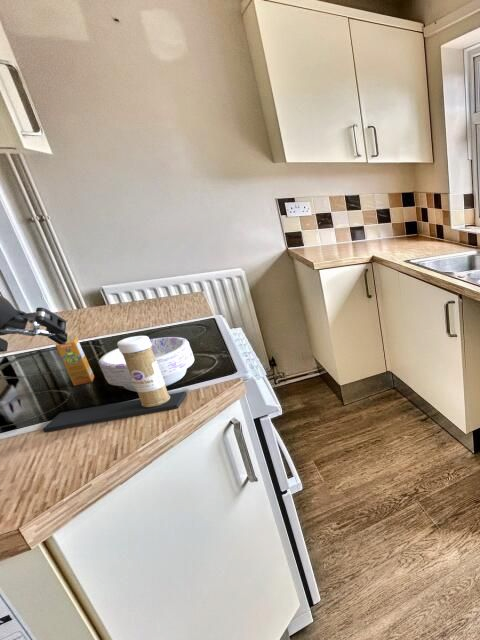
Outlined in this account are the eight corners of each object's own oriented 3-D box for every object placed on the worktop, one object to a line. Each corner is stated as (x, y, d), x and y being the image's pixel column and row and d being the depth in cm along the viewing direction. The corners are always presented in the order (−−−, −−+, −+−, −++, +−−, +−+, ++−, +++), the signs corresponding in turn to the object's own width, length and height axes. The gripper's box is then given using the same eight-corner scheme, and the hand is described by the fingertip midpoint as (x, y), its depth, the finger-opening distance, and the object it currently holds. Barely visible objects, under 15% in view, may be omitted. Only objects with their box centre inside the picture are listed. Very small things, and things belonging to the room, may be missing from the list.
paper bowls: (98, 405, 84) (81, 369, 81) (129, 374, 97) (116, 342, 94) (188, 390, 89) (176, 356, 86) (206, 362, 102) (196, 332, 99)
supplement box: (72, 386, 92) (52, 344, 88) (75, 381, 94) (56, 339, 91) (93, 382, 94) (74, 340, 90) (95, 377, 96) (77, 336, 92)
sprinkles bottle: (138, 410, 80) (111, 345, 75) (147, 399, 84) (122, 337, 79) (167, 405, 82) (142, 341, 77) (174, 394, 86) (151, 333, 81)
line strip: (44, 432, 75) (42, 428, 75) (61, 416, 80) (60, 412, 80) (178, 408, 82) (176, 404, 82) (186, 394, 87) (185, 391, 87)
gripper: (22, 276, 70) (83, 321, 84) (-101, 286, 65) (-13, 331, 79) (17, 316, 67) (81, 355, 82) (-111, 329, 62) (-19, 368, 77)
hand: (34, 343), depth 80 cm, fingers open, 8 cm apart
